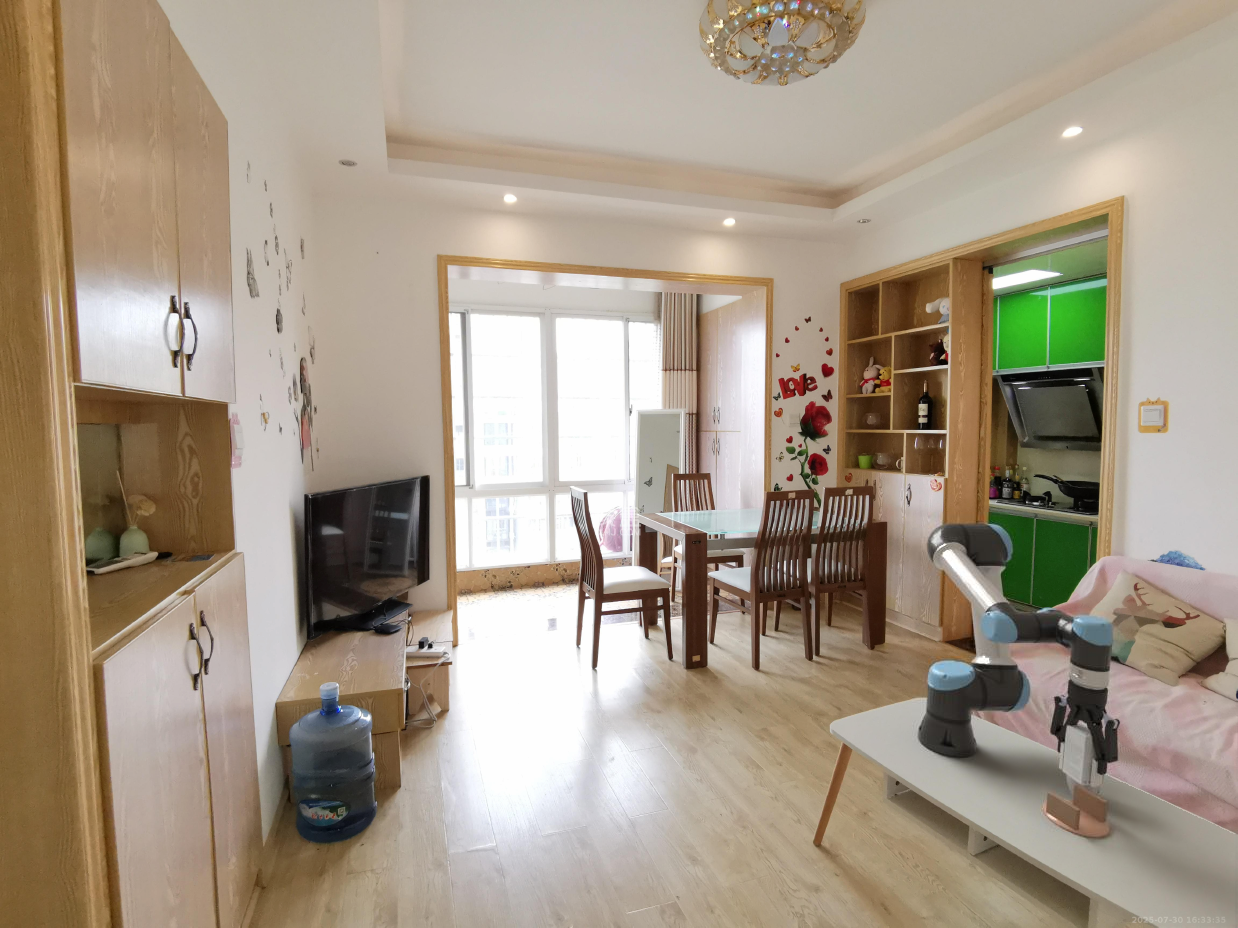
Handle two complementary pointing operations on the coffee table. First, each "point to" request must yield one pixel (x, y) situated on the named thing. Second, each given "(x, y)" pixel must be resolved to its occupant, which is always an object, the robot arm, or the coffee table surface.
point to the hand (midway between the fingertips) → (1079, 775)
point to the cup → (1072, 783)
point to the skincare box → (1078, 754)
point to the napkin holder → (1079, 813)
